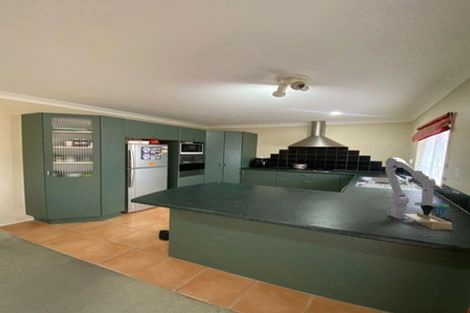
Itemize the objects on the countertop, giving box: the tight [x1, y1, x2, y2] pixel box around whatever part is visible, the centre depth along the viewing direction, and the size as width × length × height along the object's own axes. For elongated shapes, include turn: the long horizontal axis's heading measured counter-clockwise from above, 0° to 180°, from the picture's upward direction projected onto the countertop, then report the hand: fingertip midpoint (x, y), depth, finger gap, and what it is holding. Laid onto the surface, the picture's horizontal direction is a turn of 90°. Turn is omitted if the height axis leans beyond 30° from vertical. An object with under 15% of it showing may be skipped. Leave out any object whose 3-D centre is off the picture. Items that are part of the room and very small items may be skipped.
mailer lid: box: [402, 211, 439, 223], centre depth 154 cm, size 16×12×3 cm
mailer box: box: [413, 215, 453, 230], centre depth 154 cm, size 16×12×4 cm
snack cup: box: [430, 201, 451, 220], centre depth 170 cm, size 16×10×10 cm
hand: (426, 216), depth 154 cm, fingers closed
